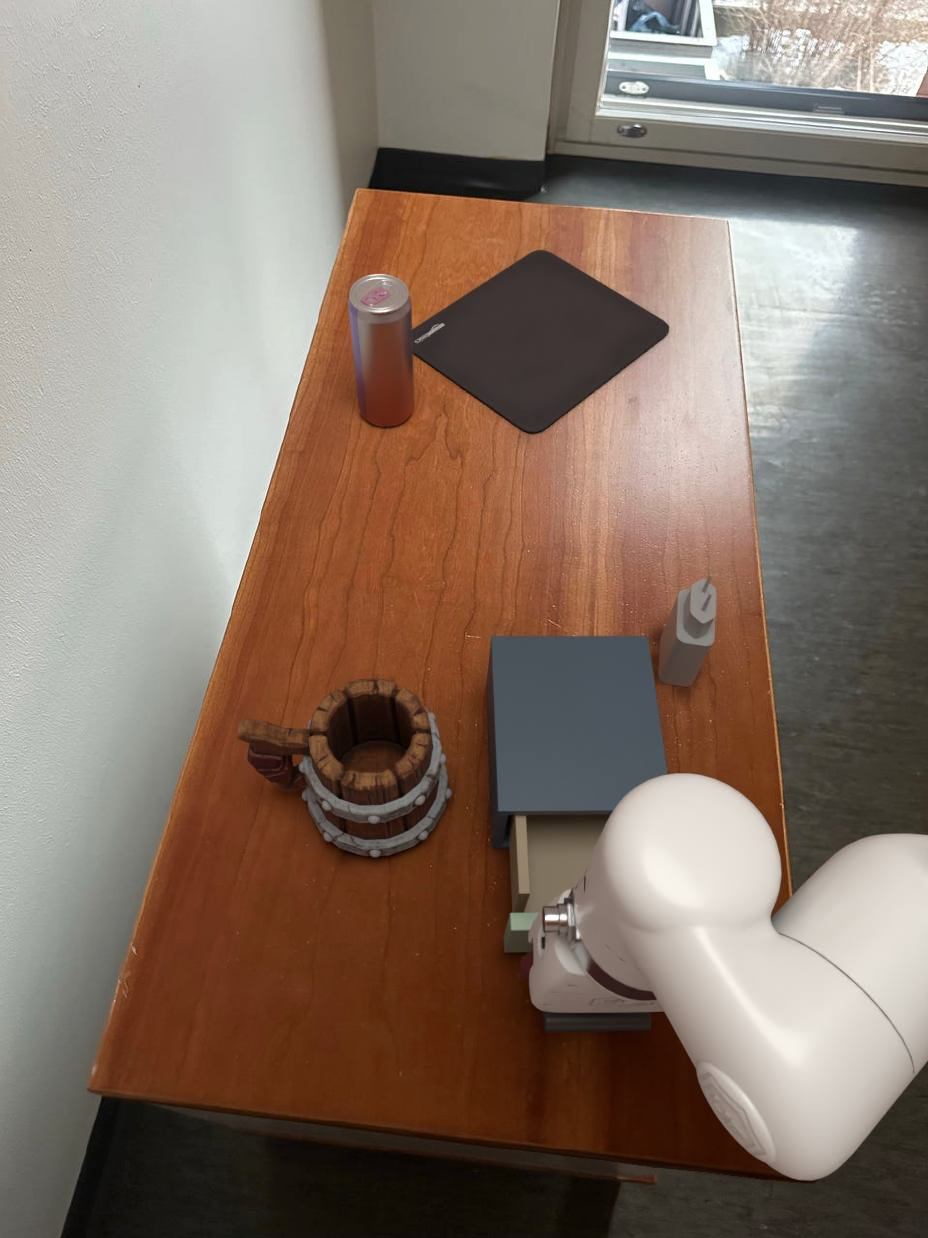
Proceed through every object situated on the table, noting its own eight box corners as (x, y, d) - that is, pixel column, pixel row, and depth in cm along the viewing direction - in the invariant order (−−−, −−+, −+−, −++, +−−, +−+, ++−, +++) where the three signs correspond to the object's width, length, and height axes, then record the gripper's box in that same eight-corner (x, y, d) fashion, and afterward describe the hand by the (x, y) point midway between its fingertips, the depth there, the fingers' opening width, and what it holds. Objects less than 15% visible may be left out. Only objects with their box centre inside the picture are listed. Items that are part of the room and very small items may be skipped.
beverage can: (347, 409, 96) (333, 292, 83) (387, 381, 98) (379, 263, 86) (386, 438, 94) (378, 322, 81) (425, 409, 96) (424, 292, 84)
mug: (464, 862, 70) (430, 793, 57) (288, 876, 71) (216, 812, 59) (459, 726, 76) (427, 637, 64) (297, 741, 78) (234, 657, 65)
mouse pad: (540, 247, 112) (540, 245, 112) (675, 328, 104) (675, 327, 104) (395, 340, 102) (395, 339, 102) (533, 438, 94) (533, 437, 94)
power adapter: (658, 682, 79) (690, 609, 69) (660, 631, 82) (692, 553, 72) (693, 688, 79) (730, 615, 69) (694, 636, 82) (730, 559, 72)
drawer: (668, 1039, 63) (692, 1024, 57) (507, 1041, 63) (514, 1027, 57) (635, 779, 73) (652, 744, 68) (497, 780, 73) (502, 745, 67)
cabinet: (649, 848, 71) (673, 810, 64) (491, 849, 71) (498, 811, 64) (628, 686, 79) (647, 635, 72) (486, 686, 79) (491, 635, 71)
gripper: (500, 999, 44) (483, 1046, 60) (797, 997, 45) (704, 1044, 60) (495, 851, 48) (481, 931, 64) (768, 850, 49) (688, 930, 64)
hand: (589, 986), depth 62 cm, fingers closed
